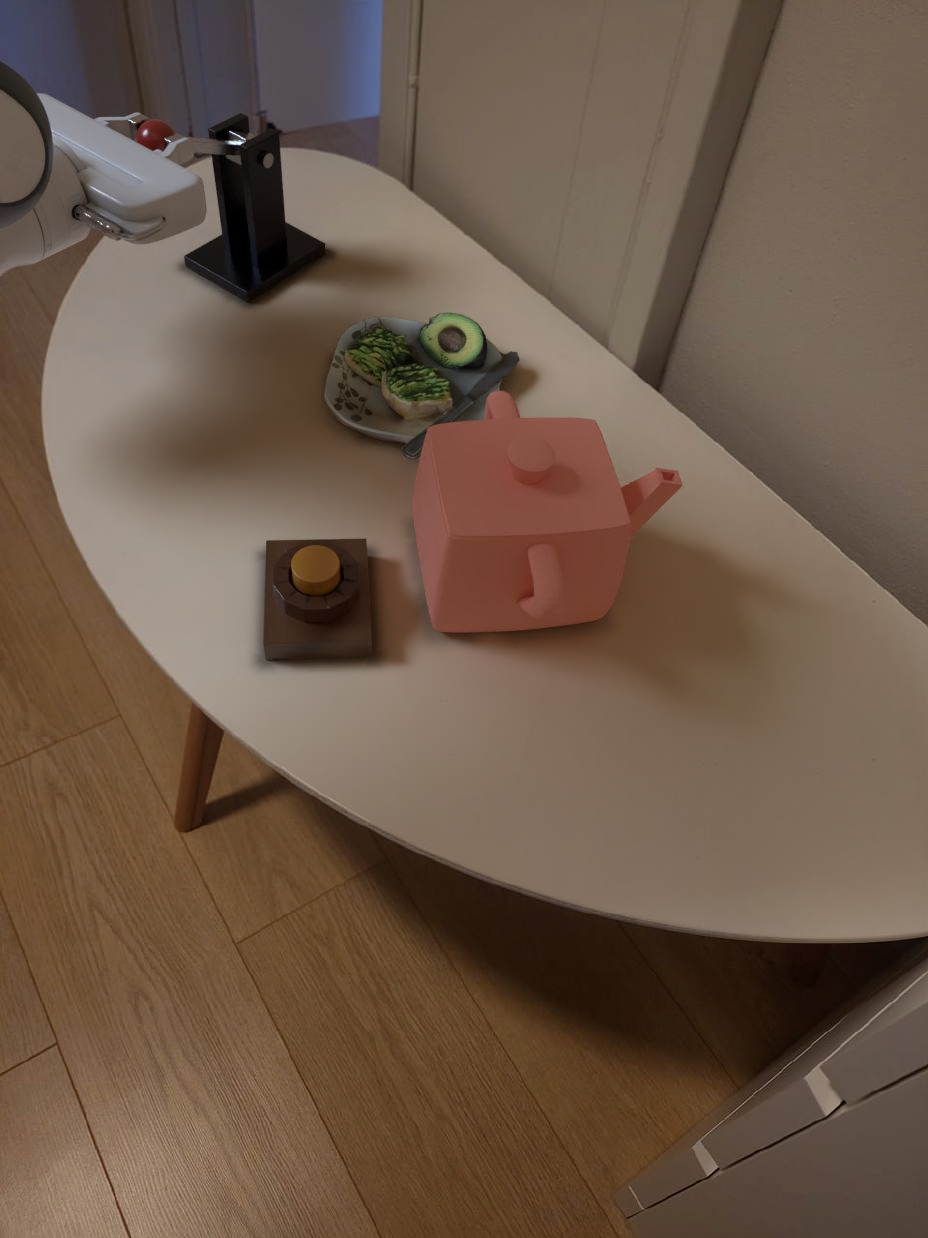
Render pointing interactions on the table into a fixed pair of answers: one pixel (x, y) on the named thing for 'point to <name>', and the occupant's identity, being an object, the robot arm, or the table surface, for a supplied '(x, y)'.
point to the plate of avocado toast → (413, 376)
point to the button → (315, 570)
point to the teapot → (524, 520)
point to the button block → (317, 605)
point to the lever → (157, 130)
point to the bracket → (252, 220)
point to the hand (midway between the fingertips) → (166, 133)
